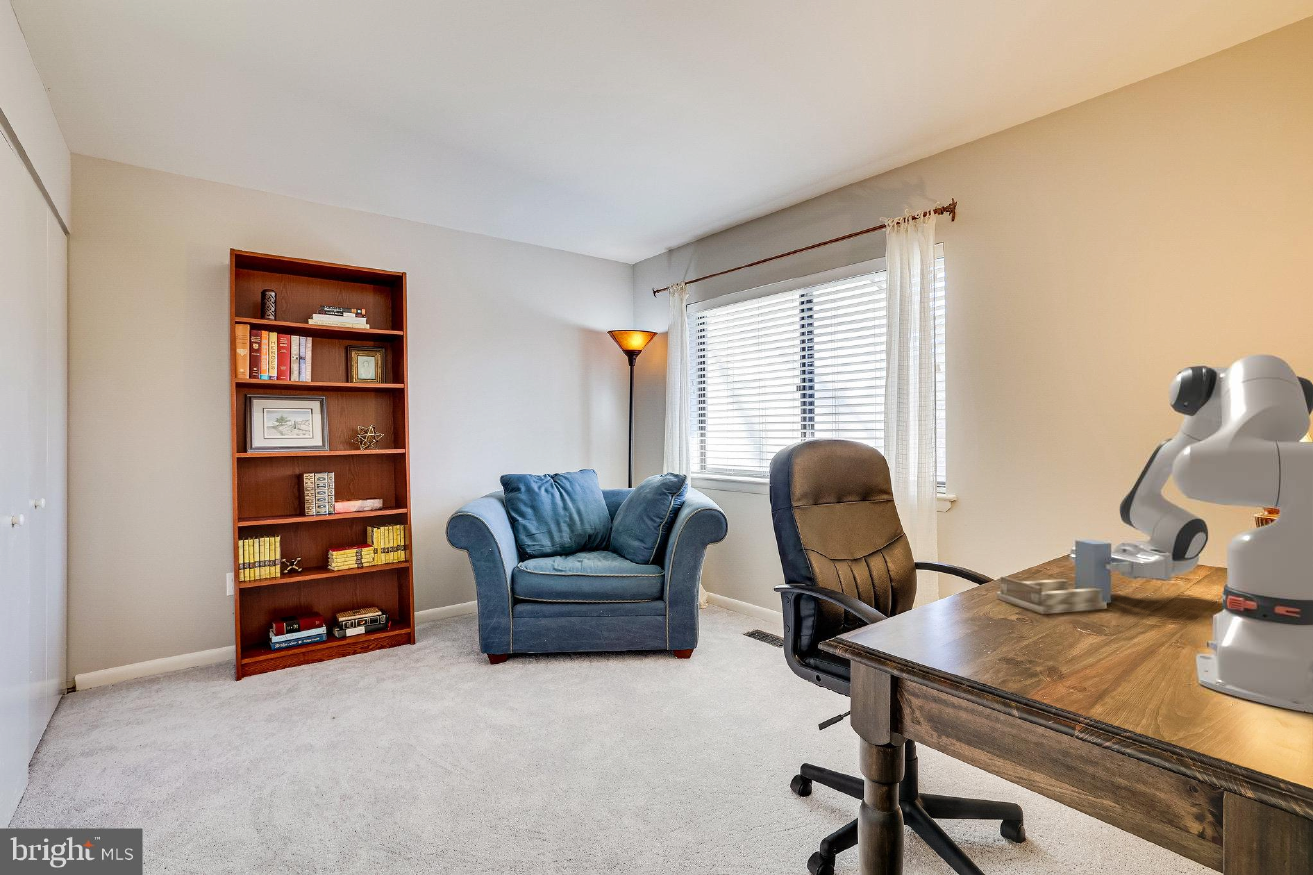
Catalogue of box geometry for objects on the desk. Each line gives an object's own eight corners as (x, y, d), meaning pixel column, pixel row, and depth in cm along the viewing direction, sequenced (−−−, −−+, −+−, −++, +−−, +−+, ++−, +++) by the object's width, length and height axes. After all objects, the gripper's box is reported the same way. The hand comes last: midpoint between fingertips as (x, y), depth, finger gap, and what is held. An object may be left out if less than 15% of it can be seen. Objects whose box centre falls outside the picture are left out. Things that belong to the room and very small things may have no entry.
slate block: (1093, 603, 146) (1094, 544, 145) (1074, 598, 150) (1075, 540, 150) (1110, 602, 147) (1111, 543, 147) (1090, 596, 152) (1091, 539, 151)
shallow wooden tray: (1042, 614, 137) (1042, 589, 137) (996, 598, 150) (996, 575, 149) (1106, 608, 141) (1106, 584, 141) (1056, 593, 154) (1057, 571, 154)
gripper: (1095, 539, 162) (1052, 542, 158) (1178, 555, 142) (1131, 558, 138) (1094, 564, 162) (1051, 566, 158) (1178, 582, 142) (1131, 586, 139)
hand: (1089, 562), depth 148 cm, fingers open, 8 cm apart
